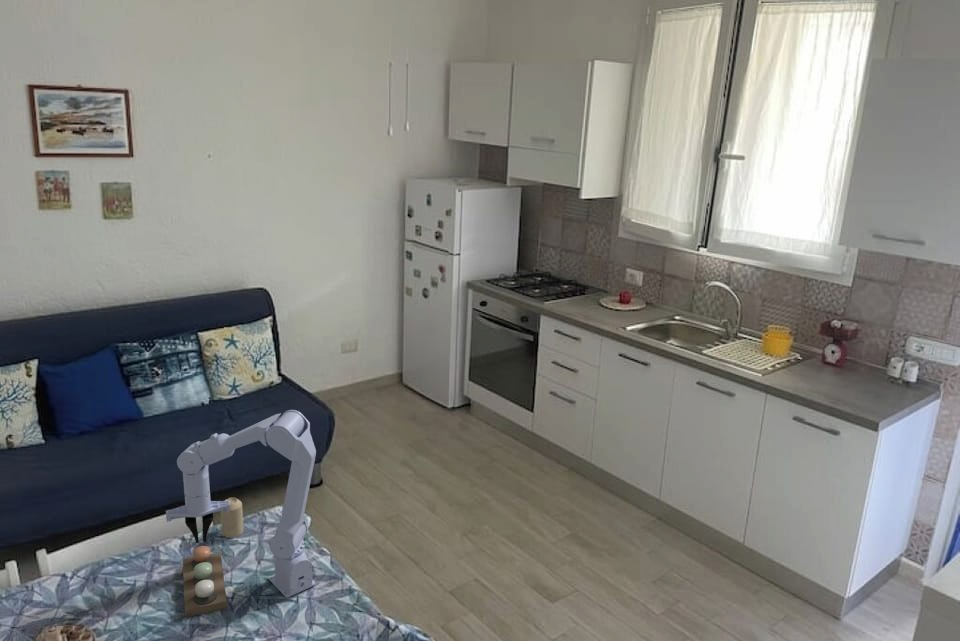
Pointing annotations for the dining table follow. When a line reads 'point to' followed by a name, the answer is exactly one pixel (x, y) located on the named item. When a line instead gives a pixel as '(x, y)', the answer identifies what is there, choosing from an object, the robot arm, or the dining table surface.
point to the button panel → (192, 601)
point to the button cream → (204, 588)
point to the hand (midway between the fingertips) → (200, 540)
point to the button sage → (203, 570)
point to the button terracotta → (201, 553)
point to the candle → (232, 519)
